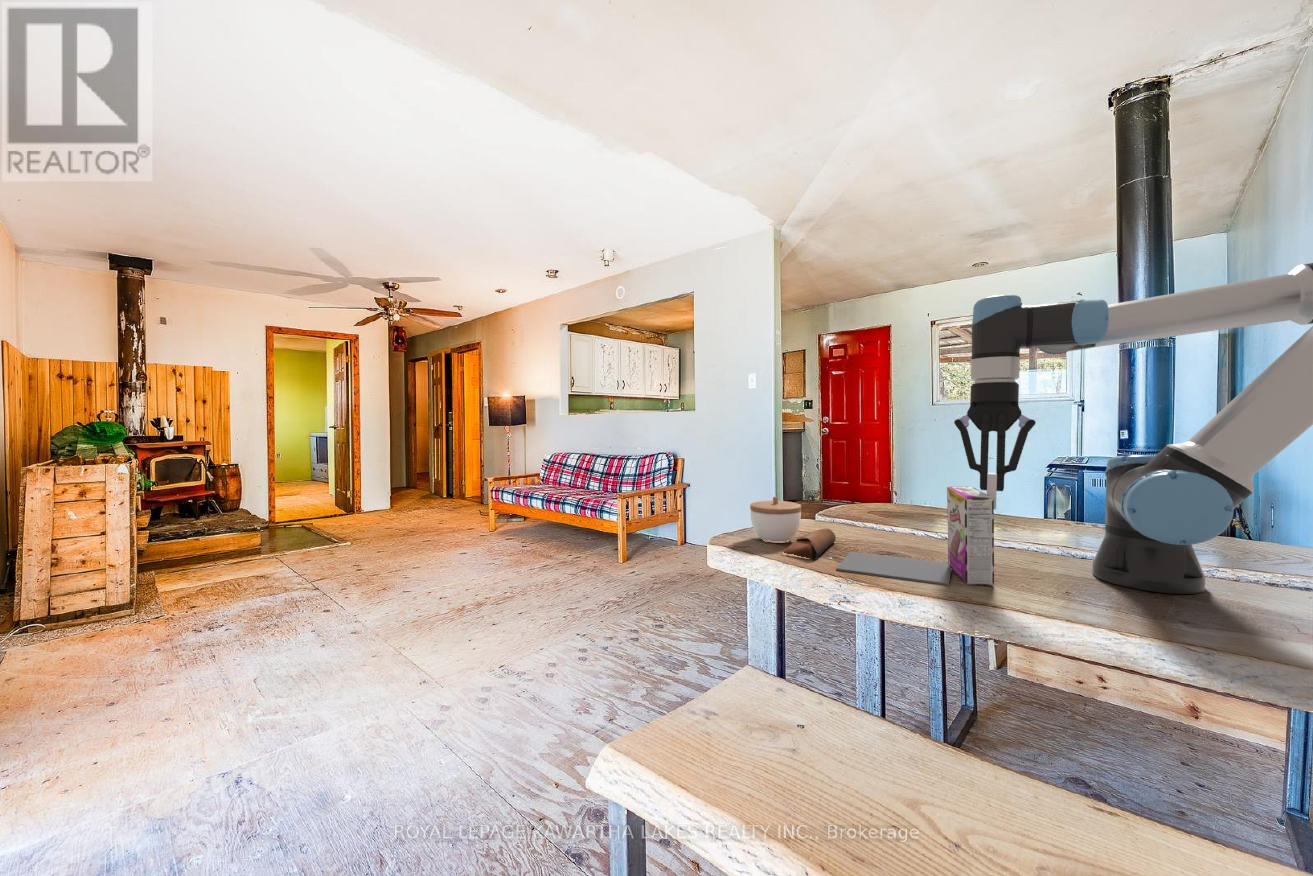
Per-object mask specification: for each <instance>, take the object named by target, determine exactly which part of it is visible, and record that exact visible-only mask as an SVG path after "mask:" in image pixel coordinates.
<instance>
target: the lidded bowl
mask: <svg viewBox="0 0 1313 876" xmlns="http://www.w3.org/2000/svg"><path fill="white" fill-rule="evenodd" d="M749 506H750V507H749V508H750V521H751V525H752V529H753V531H754V533H755V534H756V535H757V536H758V537H759V538H760V540H761V539H763V540H770V541H787V540H790V539H791V540H792V539H793V538H794V537H795V536H796V535H797V533H798V532H799V529H800V525H801V518H802V515H801V514H802V505H801V504H800V503H797V502H792V501H785V500H779V497H778V496H773V497H772V500H762V501H753V502H752V503H750V504H749ZM791 540H790V541H791Z"/></svg>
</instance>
